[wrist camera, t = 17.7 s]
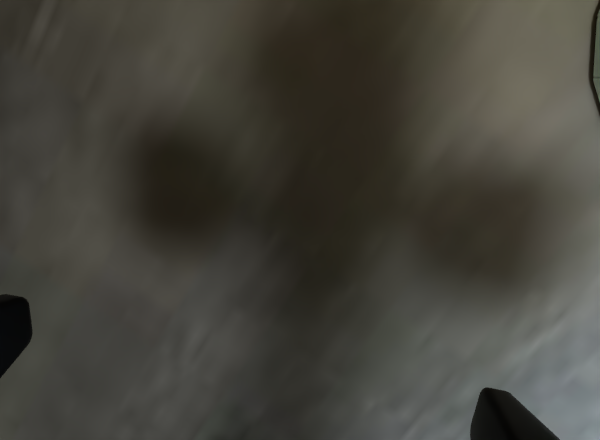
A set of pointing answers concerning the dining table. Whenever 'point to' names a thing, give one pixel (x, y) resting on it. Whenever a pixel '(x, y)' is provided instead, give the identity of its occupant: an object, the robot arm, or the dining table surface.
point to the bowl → (597, 58)
